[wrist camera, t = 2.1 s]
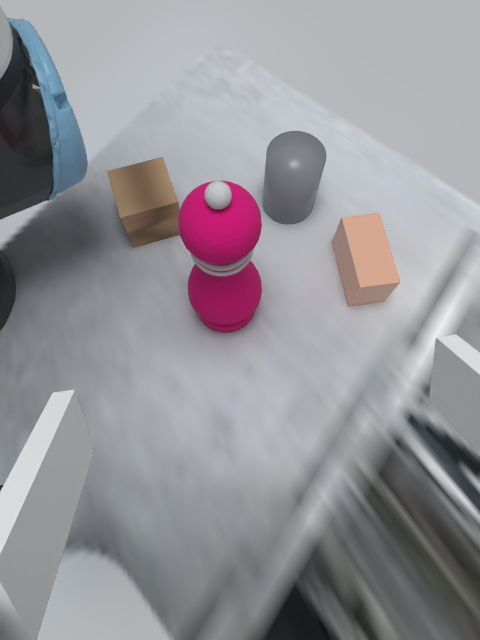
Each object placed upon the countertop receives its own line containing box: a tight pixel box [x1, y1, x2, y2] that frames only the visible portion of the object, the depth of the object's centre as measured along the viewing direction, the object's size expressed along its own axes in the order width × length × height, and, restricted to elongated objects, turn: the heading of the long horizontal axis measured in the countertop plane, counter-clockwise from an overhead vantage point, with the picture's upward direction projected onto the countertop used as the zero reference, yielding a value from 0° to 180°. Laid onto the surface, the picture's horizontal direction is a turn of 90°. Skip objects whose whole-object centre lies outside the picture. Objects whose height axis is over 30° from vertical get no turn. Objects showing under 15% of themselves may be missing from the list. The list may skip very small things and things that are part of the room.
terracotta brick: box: [332, 213, 400, 306], centre depth 44 cm, size 4×8×5 cm, turn 8°
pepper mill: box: [179, 181, 262, 332], centre depth 36 cm, size 7×7×20 cm
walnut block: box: [107, 157, 180, 247], centre depth 46 cm, size 6×6×6 cm
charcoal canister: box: [262, 131, 326, 224], centre depth 46 cm, size 6×6×8 cm
